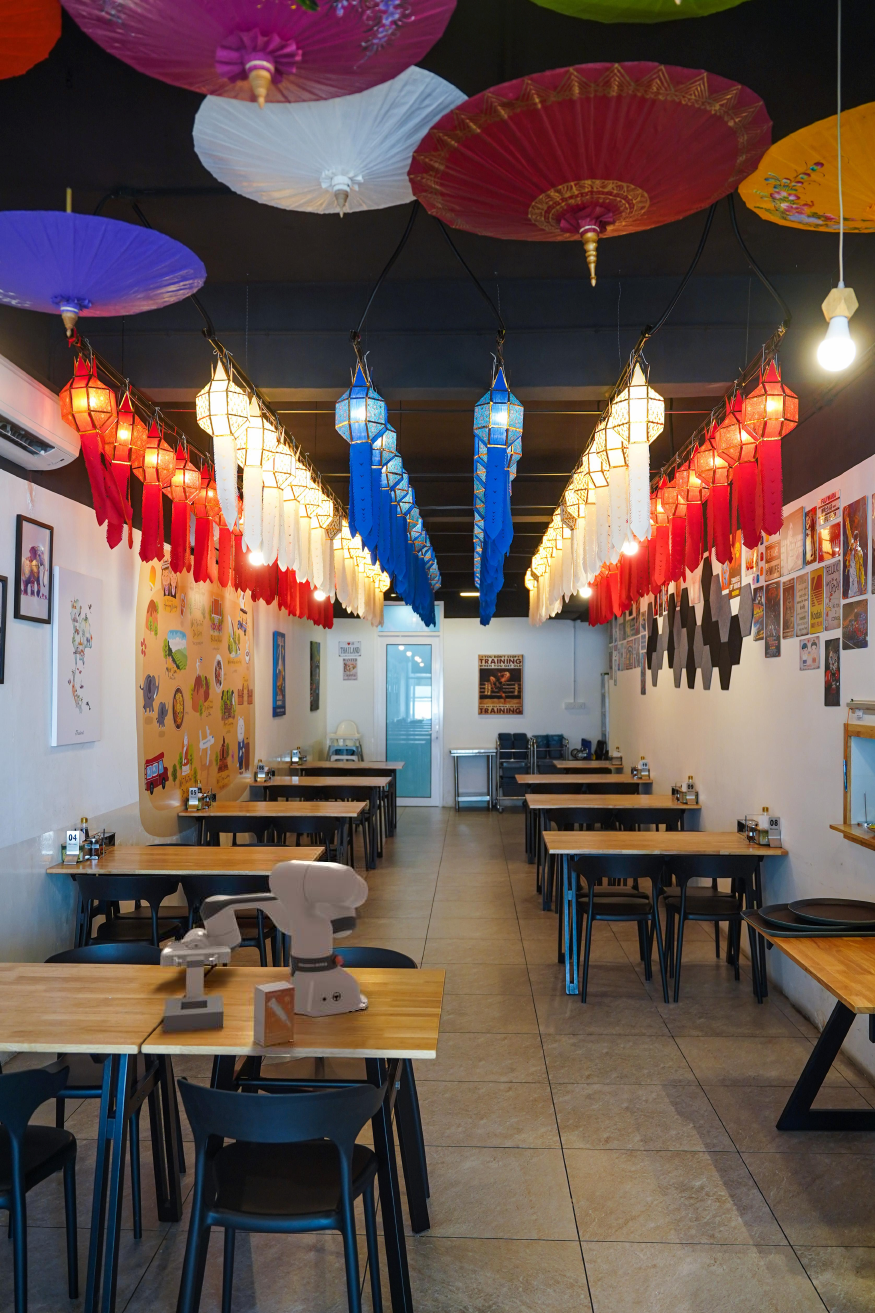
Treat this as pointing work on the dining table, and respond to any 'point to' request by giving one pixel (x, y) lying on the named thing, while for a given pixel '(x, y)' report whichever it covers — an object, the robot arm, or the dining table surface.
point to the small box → (273, 1013)
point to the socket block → (193, 1013)
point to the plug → (194, 976)
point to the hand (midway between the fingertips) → (195, 963)
